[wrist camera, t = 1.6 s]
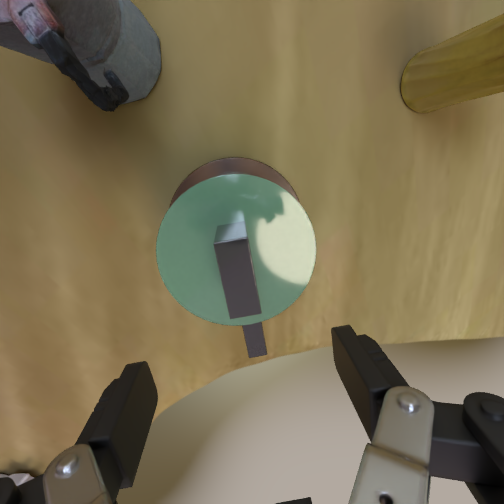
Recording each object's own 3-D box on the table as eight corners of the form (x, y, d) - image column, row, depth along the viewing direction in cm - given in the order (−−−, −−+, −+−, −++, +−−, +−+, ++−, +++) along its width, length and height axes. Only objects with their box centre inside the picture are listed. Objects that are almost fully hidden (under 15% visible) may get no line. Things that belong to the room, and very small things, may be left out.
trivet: (186, 298, 38) (185, 300, 37) (151, 171, 33) (150, 171, 32) (308, 276, 38) (310, 277, 37) (293, 145, 33) (295, 145, 32)
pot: (162, 180, 32) (109, 200, 18) (286, 157, 32) (327, 161, 18) (201, 328, 38) (184, 427, 25) (305, 309, 38) (346, 397, 25)
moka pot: (99, -62, 26) (-257, -632, 7) (208, 97, 31) (168, 6, 12) (23, 12, 27) (-446, -303, 8) (139, 153, 32) (2, 155, 13)
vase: (450, 38, 30) (626, -55, 17) (460, 99, 32) (624, 60, 19) (394, 63, 31) (521, -8, 17) (406, 122, 33) (529, 100, 19)
